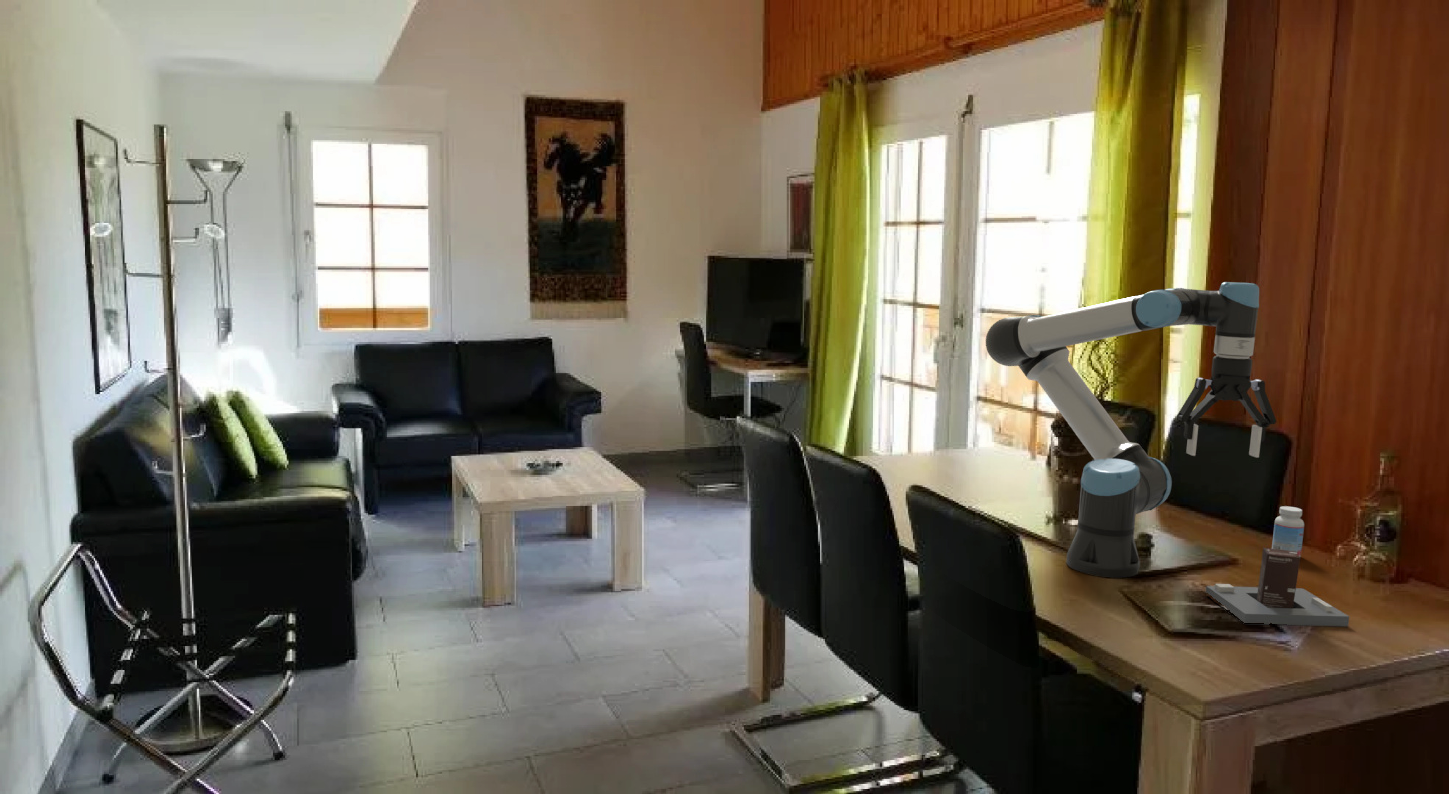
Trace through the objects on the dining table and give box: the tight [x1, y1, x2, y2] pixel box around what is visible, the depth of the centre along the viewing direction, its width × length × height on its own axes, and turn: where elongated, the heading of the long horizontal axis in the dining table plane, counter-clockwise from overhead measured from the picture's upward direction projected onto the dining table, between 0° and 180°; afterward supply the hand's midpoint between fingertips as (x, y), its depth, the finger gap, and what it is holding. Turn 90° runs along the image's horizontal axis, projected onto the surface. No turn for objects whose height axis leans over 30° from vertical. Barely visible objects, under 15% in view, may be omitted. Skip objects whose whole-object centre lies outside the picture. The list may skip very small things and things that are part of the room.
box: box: [1257, 547, 1301, 608], centre depth 209 cm, size 6×4×12 cm
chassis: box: [1205, 583, 1350, 627], centre depth 210 cm, size 20×16×3 cm
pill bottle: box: [1271, 505, 1305, 558], centre depth 247 cm, size 6×6×11 cm
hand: (1222, 455), depth 226 cm, fingers open, 13 cm apart
